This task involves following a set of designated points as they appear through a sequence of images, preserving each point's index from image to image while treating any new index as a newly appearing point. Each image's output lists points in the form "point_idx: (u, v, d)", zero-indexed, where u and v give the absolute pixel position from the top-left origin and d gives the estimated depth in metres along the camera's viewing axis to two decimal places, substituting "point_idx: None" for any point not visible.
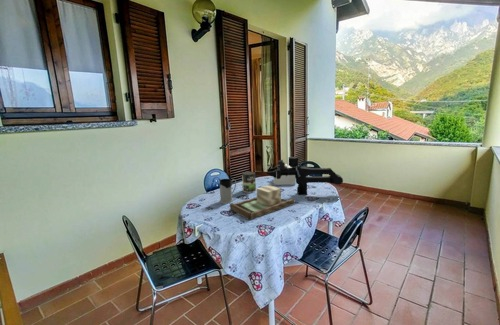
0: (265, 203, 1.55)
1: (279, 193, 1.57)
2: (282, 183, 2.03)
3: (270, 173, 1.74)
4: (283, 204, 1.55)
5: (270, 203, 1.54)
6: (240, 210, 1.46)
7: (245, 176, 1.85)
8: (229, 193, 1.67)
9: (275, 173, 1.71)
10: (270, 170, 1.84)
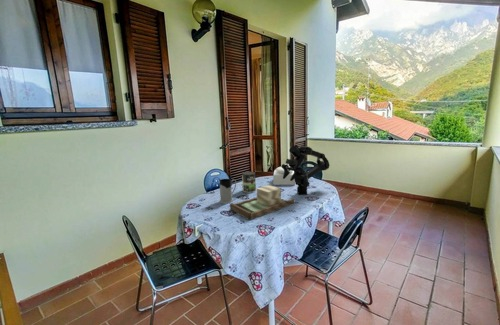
0: (265, 203, 1.55)
1: (279, 193, 1.57)
2: (282, 183, 2.02)
3: (293, 177, 1.65)
4: (283, 204, 1.55)
5: (270, 203, 1.54)
6: (240, 210, 1.46)
7: (245, 176, 1.85)
8: (229, 193, 1.67)
9: (298, 173, 1.64)
10: (285, 176, 1.71)
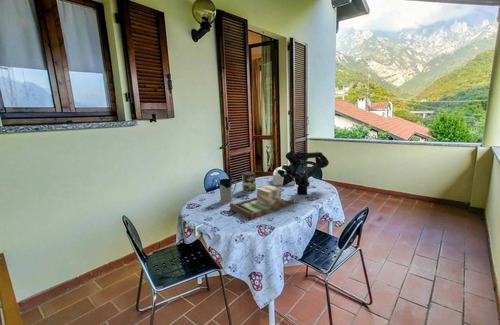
0: (265, 203, 1.55)
1: (279, 193, 1.57)
2: (281, 183, 2.02)
3: (286, 182, 1.66)
4: (283, 204, 1.55)
5: (270, 203, 1.54)
6: (240, 210, 1.46)
7: (245, 176, 1.85)
8: (229, 193, 1.67)
9: (291, 178, 1.65)
10: None
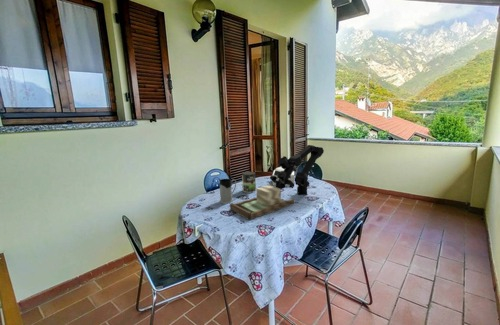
0: (265, 203, 1.55)
1: (279, 193, 1.57)
2: None
3: None
4: (283, 204, 1.55)
5: (270, 203, 1.54)
6: (240, 210, 1.46)
7: (245, 176, 1.85)
8: (229, 193, 1.67)
9: (283, 184, 1.61)
10: None
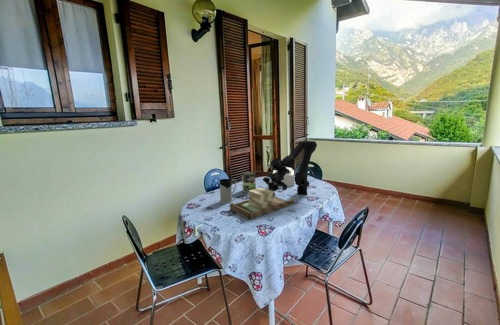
0: (257, 206, 1.51)
1: (271, 195, 1.54)
2: None
3: None
4: (283, 204, 1.55)
5: (262, 206, 1.50)
6: (240, 210, 1.46)
7: (245, 176, 1.85)
8: (229, 193, 1.67)
9: (276, 186, 1.58)
10: None
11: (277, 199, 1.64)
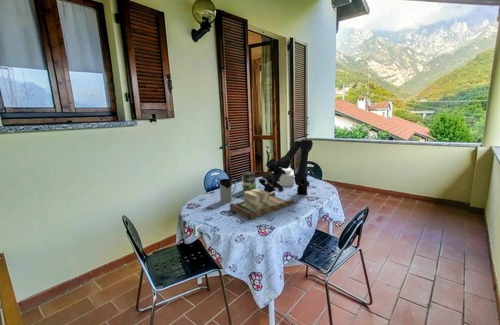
0: (252, 207, 1.49)
1: (267, 197, 1.52)
2: (280, 184, 2.00)
3: None
4: (283, 204, 1.55)
5: (257, 207, 1.48)
6: (240, 210, 1.46)
7: (245, 176, 1.85)
8: (229, 193, 1.67)
9: (272, 188, 1.56)
10: None
11: (277, 199, 1.64)
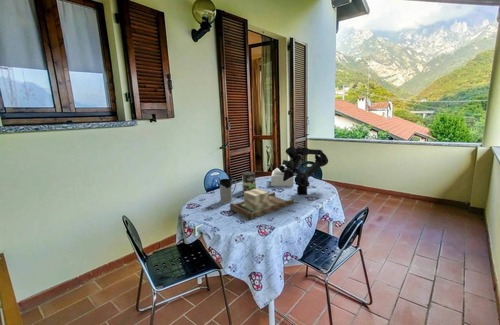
0: (252, 207, 1.49)
1: (267, 197, 1.52)
2: (280, 184, 1.99)
3: (286, 177, 1.66)
4: (283, 204, 1.55)
5: (257, 207, 1.48)
6: (240, 210, 1.46)
7: (245, 176, 1.85)
8: (229, 193, 1.67)
9: (291, 173, 1.64)
10: None
11: (277, 199, 1.64)
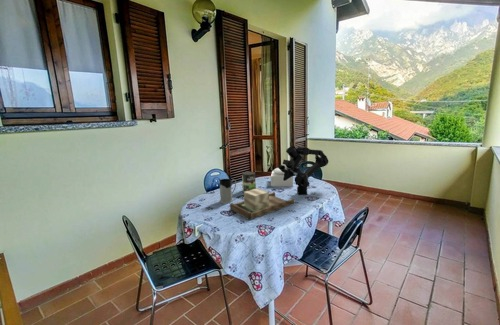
0: (252, 207, 1.49)
1: (267, 197, 1.52)
2: (279, 184, 1.99)
3: (287, 177, 1.66)
4: (283, 204, 1.55)
5: (257, 207, 1.48)
6: (240, 210, 1.46)
7: (245, 176, 1.85)
8: (229, 193, 1.67)
9: (292, 173, 1.65)
10: None
11: (277, 199, 1.64)
